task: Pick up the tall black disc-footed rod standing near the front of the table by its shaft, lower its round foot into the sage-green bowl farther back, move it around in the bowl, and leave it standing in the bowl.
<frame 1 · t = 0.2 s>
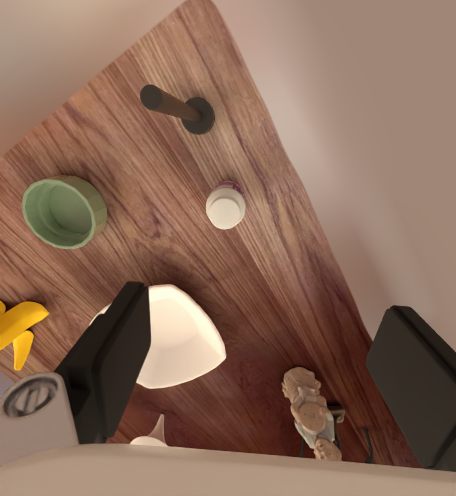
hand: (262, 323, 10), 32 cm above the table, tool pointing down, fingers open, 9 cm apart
pill bottle: (227, 196, 41), on the table
banana peel: (26, 313, 52), on the table
bowl: (166, 322, 52), on the table
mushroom: (163, 413, 63), on the table
figurine: (299, 378, 57), on the table
mixing bowl: (76, 208, 42), on the table
disc-footed rod: (199, 117, 36), on the table
statue: (326, 409, 60), on the table
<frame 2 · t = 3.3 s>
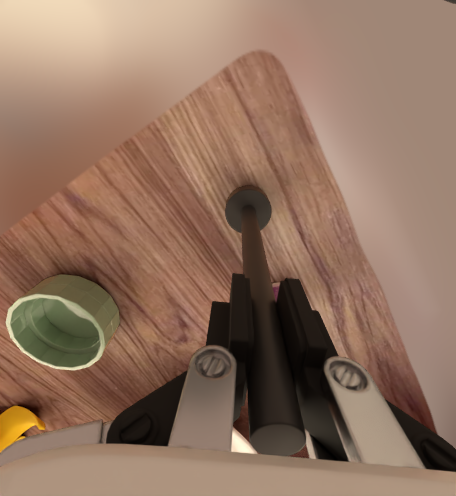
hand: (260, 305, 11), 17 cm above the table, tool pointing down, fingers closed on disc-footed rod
banana peel: (17, 416, 42), on the table
bowl: (190, 428, 42), on the table
mixing bowl: (79, 309, 33), on the table
disc-footed rod: (247, 207, 26), on the table, touching gripper
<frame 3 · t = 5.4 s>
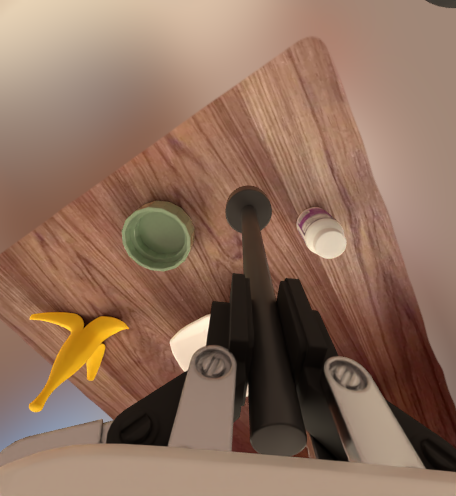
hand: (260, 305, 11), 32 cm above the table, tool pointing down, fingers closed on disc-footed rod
pill bottle: (312, 221, 43), on the table
banana peel: (101, 327, 54), on the table
bowl: (235, 336, 54), on the table
mixing bowl: (163, 230, 44), on the table
disc-footed rod: (247, 207, 26), point 15 cm above the table, touching gripper
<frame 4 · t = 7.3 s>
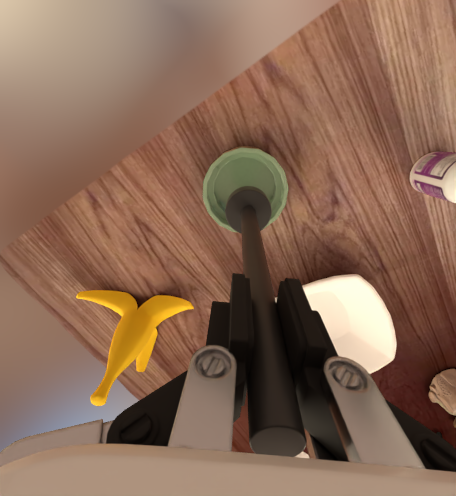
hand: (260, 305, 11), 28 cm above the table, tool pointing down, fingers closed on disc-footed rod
pill bottle: (428, 171, 35), on the table
banana peel: (154, 308, 46), on the table
bowl: (312, 318, 46), on the table
figurine: (446, 381, 51), on the table
mixing bowl: (244, 186, 37), on the table
disc-footed rod: (247, 207, 26), point 11 cm above the table, touching gripper
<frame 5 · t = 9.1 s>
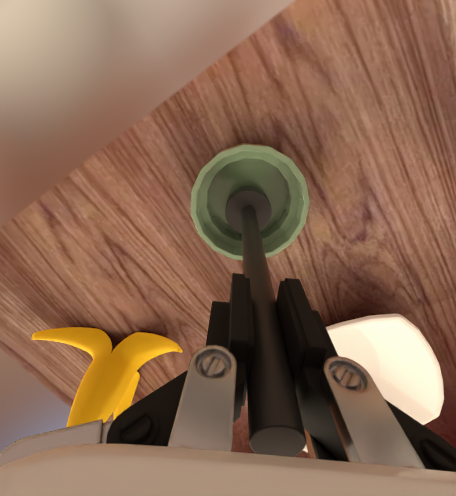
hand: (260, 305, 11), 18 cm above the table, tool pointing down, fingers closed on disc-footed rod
banana peel: (135, 347, 37), on the table
bowl: (332, 359, 37), on the table
mixing bowl: (247, 196, 28), on the table
disc-footed rod: (247, 207, 26), point 2 cm above the table, touching gripper
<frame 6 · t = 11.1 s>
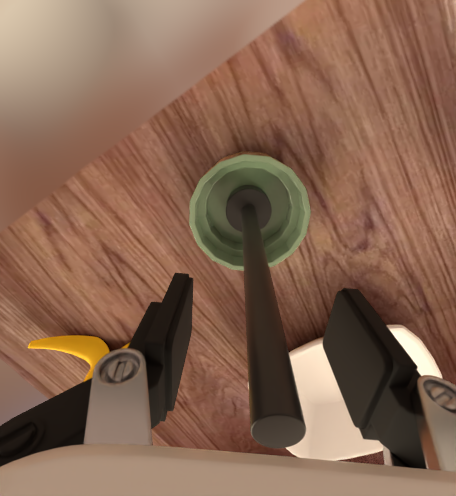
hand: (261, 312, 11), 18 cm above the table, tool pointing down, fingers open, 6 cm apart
banana peel: (133, 355, 37), on the table
bowl: (332, 368, 36), on the table
mixing bowl: (247, 205, 27), on the table
disc-footed rod: (247, 206, 27), resting on mixing bowl
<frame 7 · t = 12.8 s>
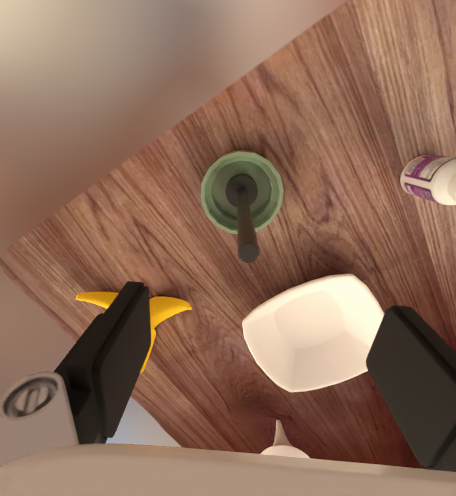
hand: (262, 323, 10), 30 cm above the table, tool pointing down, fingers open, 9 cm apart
pill bottle: (417, 174, 36), on the table
banana peel: (153, 310, 47), on the table
bowl: (308, 318, 47), on the table
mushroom: (278, 419, 58), on the table
mixing bowl: (241, 188, 38), on the table
disc-footed rod: (241, 189, 37), resting on mixing bowl
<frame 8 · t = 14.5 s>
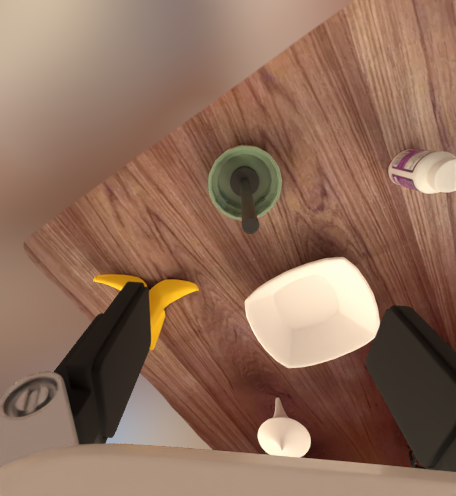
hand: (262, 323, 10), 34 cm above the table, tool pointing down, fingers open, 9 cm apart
pill bottle: (404, 166, 40), on the table
banana peel: (163, 292, 51), on the table
bowl: (305, 300, 51), on the table
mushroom: (277, 397, 62), on the table
mixing bowl: (244, 180, 42), on the table
disc-footed rod: (244, 180, 41), resting on mixing bowl
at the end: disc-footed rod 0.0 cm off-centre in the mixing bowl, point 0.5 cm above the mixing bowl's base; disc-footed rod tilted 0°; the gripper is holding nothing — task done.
